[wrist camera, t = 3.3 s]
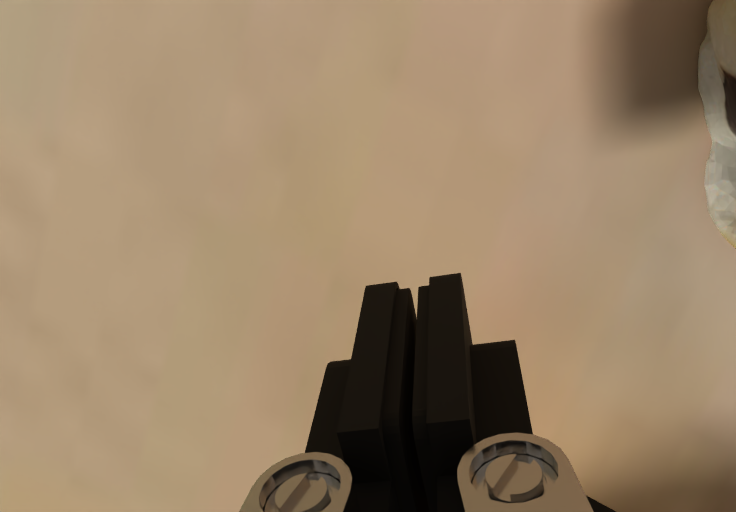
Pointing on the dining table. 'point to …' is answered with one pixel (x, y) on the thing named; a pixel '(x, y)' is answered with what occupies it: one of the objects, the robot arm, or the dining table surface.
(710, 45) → the pastry
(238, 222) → the dining table surface
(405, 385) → the robot arm
